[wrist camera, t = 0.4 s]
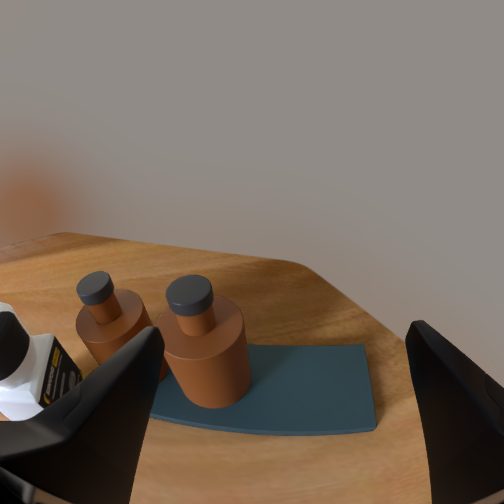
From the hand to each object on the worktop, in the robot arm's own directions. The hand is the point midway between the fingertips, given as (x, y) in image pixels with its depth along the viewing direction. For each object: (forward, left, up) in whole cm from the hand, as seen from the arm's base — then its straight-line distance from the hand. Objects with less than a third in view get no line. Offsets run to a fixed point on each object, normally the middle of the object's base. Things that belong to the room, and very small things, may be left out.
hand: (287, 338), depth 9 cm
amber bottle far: (+6, +13, -13) cm, 19 cm away
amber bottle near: (+6, +6, -13) cm, 15 cm away
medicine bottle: (-1, +21, -14) cm, 25 cm away
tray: (+5, +5, -14) cm, 16 cm away
